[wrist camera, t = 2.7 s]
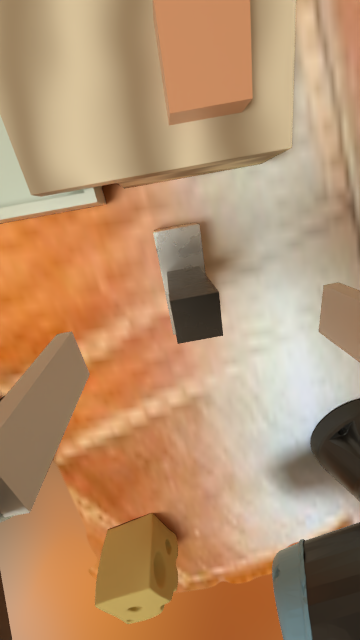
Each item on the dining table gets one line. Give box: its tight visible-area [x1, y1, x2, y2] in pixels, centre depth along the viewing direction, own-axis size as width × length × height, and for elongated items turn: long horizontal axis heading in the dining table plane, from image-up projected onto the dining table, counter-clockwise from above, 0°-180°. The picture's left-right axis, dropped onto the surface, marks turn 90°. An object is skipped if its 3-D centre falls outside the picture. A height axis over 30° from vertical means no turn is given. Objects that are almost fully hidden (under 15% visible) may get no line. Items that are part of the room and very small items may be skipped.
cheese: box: [95, 513, 178, 624], centre depth 41 cm, size 10×11×10 cm
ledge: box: [0, 0, 296, 197], centre depth 17 cm, size 19×10×6 cm, turn 99°
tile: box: [152, 0, 253, 125], centre depth 14 cm, size 5×5×2 cm
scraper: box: [153, 223, 223, 344], centre depth 20 cm, size 4×10×12 cm, turn 9°
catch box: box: [0, 115, 106, 223], centre depth 18 cm, size 12×12×4 cm
